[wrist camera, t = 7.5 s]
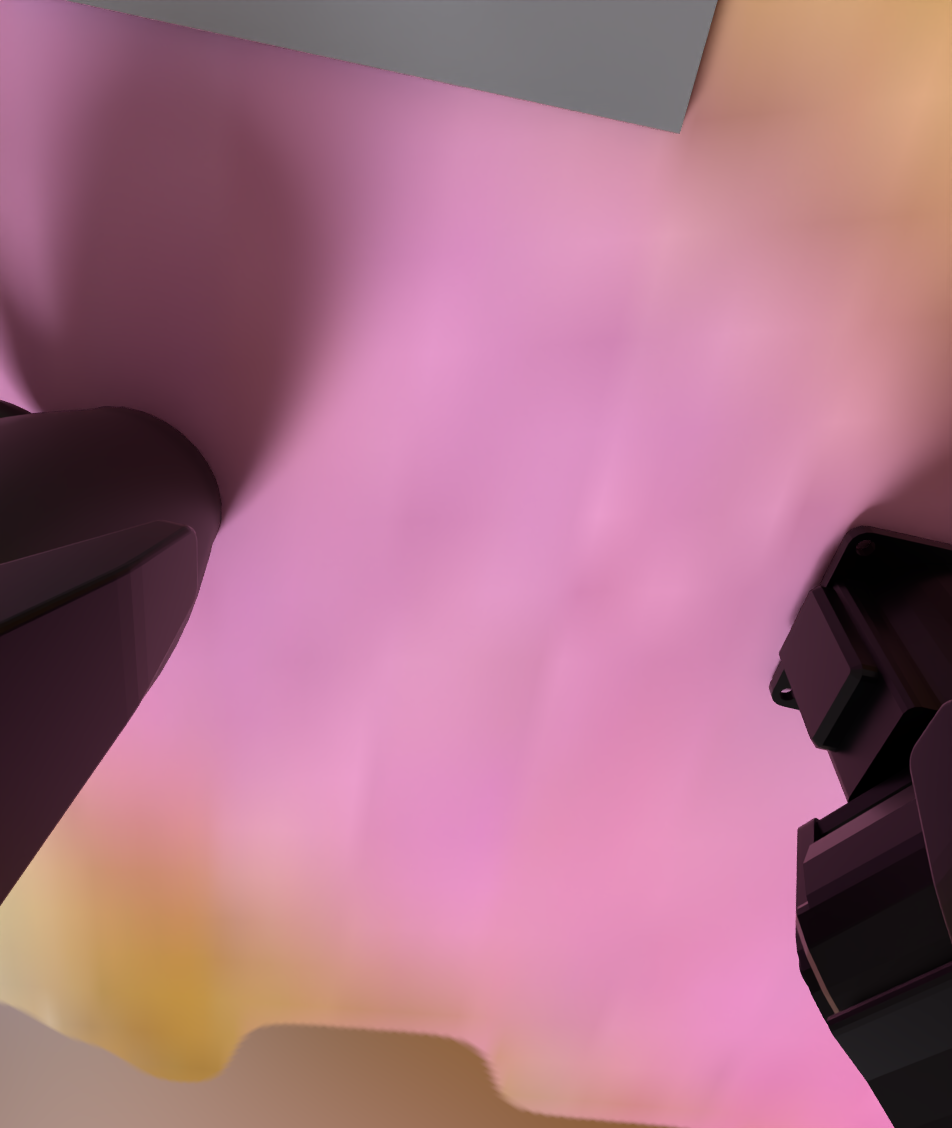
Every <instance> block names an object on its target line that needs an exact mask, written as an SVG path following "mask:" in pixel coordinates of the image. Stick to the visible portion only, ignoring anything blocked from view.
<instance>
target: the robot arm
mask: <svg viewBox="0 0 952 1128" xmlns="http://www.w3.org/2000/svg"><path fill="white" fill-rule="evenodd" d="M864 540H870V544H869V545H868V546H867V547H865V548H863V549H856V546H857V545H858V544H859V543H860V542H862V541H864ZM197 588H198V562H197V536H196V533H195V531H194V529H193V528H192V527H190V526H187V525H183V524H179V523H174V522H170V521H166V520H155V521H152V522H148V523H145V524H141V525H138V526H134V527H131V528H127V529H123V530H120V531H116V532H113V533H109V534H106V535H102V536H99V537H95V538H91V539H88V540H84V541H81V542H77V543H74V544H70V545H67V546H63V547H59V548H56V549H52V550H49V551H45V552H42V553H38V554H35V555H31V556H28V557H24V558H20V559H17V560H13V561H10V562H6V563H3V564H0V906H1V904H2V903H3V901H4V900H5V898H6V897H7V895H8V894H9V893H10V891H11V890H12V888H13V887H14V885H15V884H16V883H17V881H18V880H19V878H20V877H21V875H22V874H23V872H24V871H25V870H26V868H27V867H28V865H29V864H30V862H31V861H32V860H33V858H34V857H35V855H36V854H37V852H38V851H39V849H40V848H41V847H42V845H43V844H44V842H45V841H46V839H47V838H48V837H49V835H50V834H51V832H52V831H53V829H54V828H55V826H56V825H57V824H58V822H59V821H60V819H61V818H62V816H63V815H64V813H65V812H66V811H67V809H68V808H69V806H70V805H71V803H72V802H73V801H74V799H75V798H76V796H77V795H78V793H79V792H80V790H81V789H82V788H83V786H84V785H85V783H86V782H87V780H88V779H89V778H90V776H91V775H92V773H93V772H94V770H95V769H96V767H97V766H98V765H99V763H100V762H101V760H102V759H103V757H104V756H105V755H106V753H107V752H108V750H109V749H110V747H111V746H112V744H113V743H114V742H115V740H116V739H117V737H118V736H119V734H120V733H121V731H122V730H123V729H124V727H125V726H126V724H127V723H128V721H129V720H130V718H131V717H132V715H133V714H134V712H135V711H136V709H137V708H138V706H139V705H140V703H141V701H142V699H143V697H144V696H145V694H146V692H147V690H148V689H149V687H150V685H151V683H152V681H153V679H154V677H155V676H156V674H157V672H158V670H159V668H160V666H161V664H162V662H163V660H164V659H165V657H166V655H167V653H168V651H169V649H170V647H171V645H172V643H173V642H174V640H175V638H176V636H177V634H178V632H179V630H180V628H181V626H182V625H183V623H184V621H185V619H186V617H187V615H188V613H189V611H190V609H191V608H192V606H193V603H194V601H195V598H196V594H197ZM779 656H780V659H781V662H780V664H779V666H778V668H777V670H776V672H775V674H774V676H773V678H772V680H771V682H770V685H769V690H770V693H771V696H772V699H773V701H774V702H775V703H776V704H778V705H781V706H784V707H788V708H793V709H797V710H800V712H801V715H802V718H803V720H804V723H805V726H806V728H807V731H808V734H809V736H810V739H811V740H812V742H813V744H814V745H815V747H816V748H818V749H823V750H827V751H828V753H829V756H830V759H831V761H832V764H833V766H834V769H835V771H836V774H837V776H838V779H839V781H840V784H841V787H842V789H843V792H844V794H845V797H846V799H847V802H848V803H847V804H845V805H844V806H842V807H840V808H839V809H837V810H835V811H834V812H832V813H830V814H829V815H827V816H825V817H824V818H822V819H821V820H819V819H817V818H814V819H812V820H810V821H809V822H807V823H806V824H804V825H802V826H801V827H799V828H798V834H797V886H796V945H797V953H798V957H799V968H800V972H801V975H802V977H803V979H804V981H805V982H806V984H807V985H808V987H809V990H810V992H811V995H812V996H813V998H814V1000H815V1002H816V1004H817V1006H818V1008H819V1010H820V1012H821V1014H822V1016H823V1018H824V1020H825V1021H826V1023H827V1024H828V1027H829V1029H830V1031H831V1033H832V1034H833V1036H834V1037H835V1039H836V1040H837V1041H838V1043H839V1044H840V1045H841V1047H842V1048H843V1049H844V1051H845V1052H846V1054H847V1055H848V1056H849V1058H850V1059H851V1060H852V1062H853V1063H854V1064H855V1066H856V1067H857V1069H858V1070H859V1071H860V1073H861V1074H862V1075H863V1077H864V1078H865V1080H866V1081H867V1082H868V1084H869V1086H870V1087H871V1089H872V1091H873V1092H874V1094H875V1096H876V1097H877V1099H878V1101H879V1103H880V1104H881V1106H882V1108H883V1109H884V1111H885V1113H886V1114H887V1116H888V1118H889V1119H890V1121H891V1123H892V1124H893V1126H894V1128H952V545H950V544H946V543H941V542H937V541H933V540H928V539H924V538H919V537H915V536H910V535H906V534H901V533H897V532H892V531H888V530H883V529H879V528H874V527H870V526H860V527H856V528H853V529H852V530H850V531H849V532H848V533H847V534H846V535H845V537H844V538H843V540H842V542H841V544H840V546H839V548H838V550H837V552H836V554H835V556H834V558H833V560H832V562H831V564H830V566H829V568H828V570H827V572H826V574H825V576H824V578H823V580H822V582H821V584H820V585H819V586H817V587H815V588H814V589H813V590H811V591H810V592H809V594H808V596H807V598H806V600H805V602H804V604H803V606H802V608H801V610H800V612H799V614H798V616H797V618H796V620H795V622H794V624H793V626H792V628H791V630H790V632H789V634H788V636H787V638H786V640H785V642H784V644H783V646H782V648H781V650H780V652H779ZM786 688H792V690H791V691H789V692H787V693H783V692H781V691H782V690H784V689H786Z"/></svg>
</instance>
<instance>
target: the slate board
mask: <svg viewBox="0 0 952 1128" xmlns="http://www.w3.org/2000/svg"><path fill="white" fill-rule="evenodd" d="M64 1H68V2H73V3H77V4H82V5H87V6H91V7H96V8H100V9H105V10H110V11H114V12H119V13H123V14H128V15H133V16H137V17H142V18H146V19H151V20H156V21H160V22H165V23H169V24H174V25H179V26H183V27H188V28H193V29H197V30H202V31H206V32H211V33H216V34H220V35H225V36H229V37H234V38H239V39H243V40H248V41H252V42H257V43H262V44H266V45H271V46H275V47H280V48H285V49H289V50H294V51H298V52H303V53H308V54H312V55H317V56H321V57H326V58H331V59H335V60H340V61H344V62H349V63H354V64H358V65H363V66H367V67H372V68H377V69H381V70H386V71H390V72H395V73H400V74H404V75H409V76H413V77H418V78H423V79H427V80H432V81H436V82H441V83H446V84H450V85H455V86H459V87H464V88H469V89H473V90H478V91H482V92H487V93H492V94H496V95H501V96H505V97H510V98H515V99H519V100H524V101H528V102H533V103H538V104H542V105H547V106H551V107H556V108H561V109H565V110H570V111H574V112H579V113H584V114H588V115H593V116H597V117H602V118H607V119H611V120H616V121H620V122H625V123H630V124H634V125H639V126H643V127H648V128H653V129H657V130H662V131H666V132H671V133H676V134H680V131H681V127H682V124H683V120H684V117H685V113H686V110H687V106H688V103H689V99H690V96H691V92H692V89H693V85H694V82H695V78H696V75H697V71H698V68H699V64H700V61H701V57H702V54H703V50H704V46H705V43H706V39H707V36H708V32H709V29H710V25H711V22H712V18H713V15H714V11H715V8H716V4H717V1H718V0H64Z"/></svg>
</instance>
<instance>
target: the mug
mask: <svg viewBox="0 0 952 1128" xmlns="http://www.w3.org/2000/svg"><path fill="white" fill-rule="evenodd" d="M155 520H166V521H170V522H174V523H179V524H183V525H187V526H190V527H192V528H193V529H194V531H195V533H196V536H197V562H198V588H197V594H196V598H195V601H196V599H197V596H198V593H199V590H200V586H201V583H202V580H203V576H204V573H205V570H206V566H207V563H208V560H209V556H210V552H211V548H212V544H213V542H214V539H215V537H216V535H217V531H218V528H219V525H220V522H221V500H220V495H219V490H218V486H217V483H216V480H215V478H214V476H213V474H212V471H211V469H210V467H209V465H208V464H207V462H206V461H205V459H204V458H203V457H202V455H201V454H200V452H199V451H198V450H197V448H196V447H195V446H194V445H193V444H192V443H191V442H190V441H189V440H188V439H187V438H186V437H185V436H184V435H182V434H181V433H180V432H179V431H177V430H176V429H174V428H173V427H172V426H170V425H169V424H167V423H166V422H164V421H162V420H160V419H158V418H156V417H154V416H152V415H149V414H147V413H145V412H142V411H138V410H133V409H129V408H125V407H99V408H95V409H87V410H72V411H54V412H42V413H30V412H28V411H27V410H25V409H23V408H20V407H18V406H16V405H14V404H11V403H8V402H5V401H2V400H0V564H3V563H6V562H10V561H13V560H17V559H20V558H24V557H28V556H31V555H35V554H38V553H42V552H45V551H49V550H52V549H56V548H59V547H63V546H67V545H70V544H74V543H77V542H81V541H84V540H88V539H91V538H95V537H99V536H102V535H106V534H109V533H113V532H116V531H120V530H123V529H127V528H131V527H134V526H138V525H141V524H145V523H148V522H152V521H155ZM195 601H194V603H193V606H192V608H191V609H190V611H189V613H188V615H187V617H186V619H185V621H184V623H183V625H182V626H181V628H180V630H179V632H178V634H177V636H176V638H175V640H174V642H173V643H172V645H171V647H170V649H169V651H168V653H167V655H166V657H165V659H164V660H163V662H162V664H161V666H160V668H159V670H158V672H157V674H156V676H155V677H154V679H153V681H152V683H151V685H150V687H149V689H150V688H151V686H152V685H153V683H154V682H155V681H156V679H157V678H158V676H159V675H160V673H161V671H162V670H163V668H164V666H165V665H166V663H167V661H168V659H169V658H170V656H171V654H172V652H173V651H174V649H175V647H176V645H177V643H178V641H179V639H180V637H181V635H182V632H183V630H184V628H185V626H186V624H187V622H188V620H189V617H190V615H191V612H192V609H193V607H194V604H195ZM149 689H148V690H147V692H148V691H149ZM147 692H146V693H147ZM145 695H146V694H145ZM143 698H144V697H143Z"/></svg>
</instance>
